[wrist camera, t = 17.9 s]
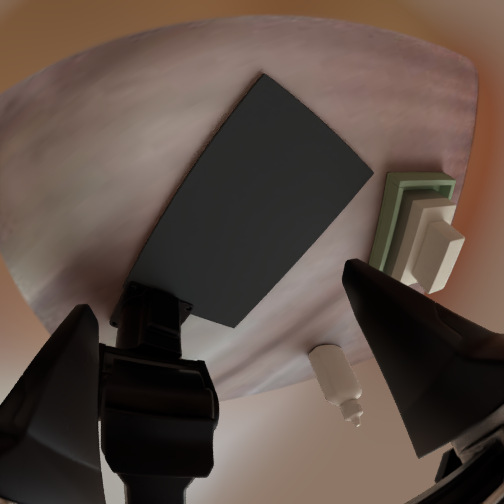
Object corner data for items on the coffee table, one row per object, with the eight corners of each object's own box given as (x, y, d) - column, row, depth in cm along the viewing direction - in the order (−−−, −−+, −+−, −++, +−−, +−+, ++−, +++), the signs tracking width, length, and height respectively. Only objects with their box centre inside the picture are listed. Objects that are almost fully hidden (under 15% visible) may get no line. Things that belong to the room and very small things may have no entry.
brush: (412, 259, 28) (445, 296, 23) (380, 267, 28) (413, 309, 23) (433, 188, 23) (478, 221, 18) (399, 190, 22) (446, 227, 17)
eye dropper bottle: (317, 365, 38) (346, 434, 29) (304, 351, 35) (336, 431, 25) (343, 350, 37) (377, 419, 28) (333, 335, 34) (371, 413, 25)
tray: (416, 264, 30) (425, 274, 28) (364, 278, 29) (372, 289, 27) (443, 172, 23) (456, 179, 21) (387, 172, 22) (400, 180, 20)
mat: (233, 325, 28) (234, 328, 28) (123, 285, 22) (122, 288, 22) (371, 171, 21) (374, 173, 21) (263, 73, 15) (264, 73, 15)
